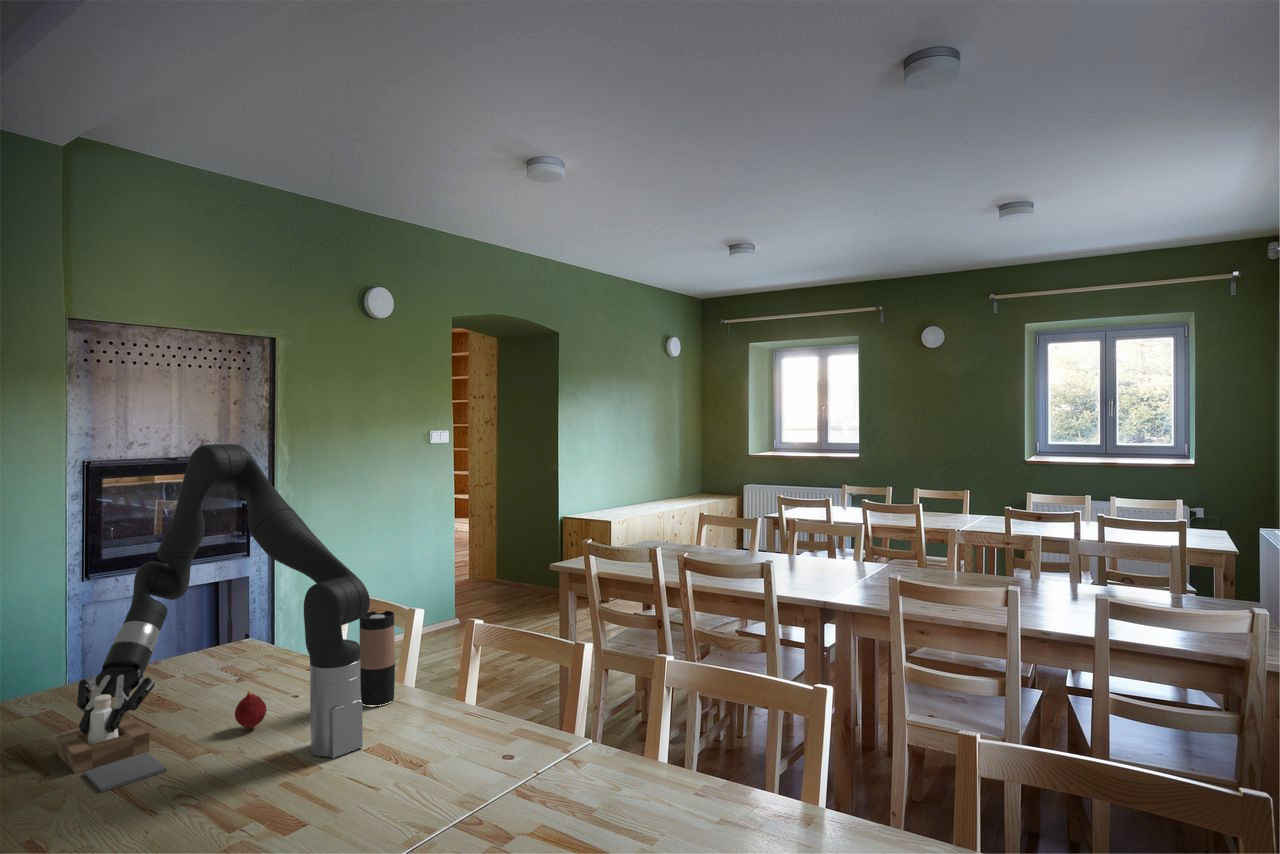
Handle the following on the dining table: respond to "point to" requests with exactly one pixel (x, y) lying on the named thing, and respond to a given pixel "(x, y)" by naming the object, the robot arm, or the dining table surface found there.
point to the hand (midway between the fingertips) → (96, 731)
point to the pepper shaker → (100, 720)
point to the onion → (250, 711)
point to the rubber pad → (124, 772)
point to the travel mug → (377, 658)
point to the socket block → (102, 747)
